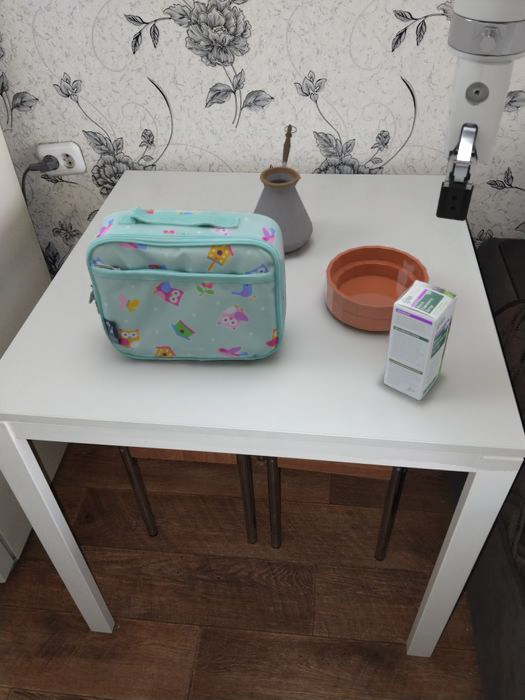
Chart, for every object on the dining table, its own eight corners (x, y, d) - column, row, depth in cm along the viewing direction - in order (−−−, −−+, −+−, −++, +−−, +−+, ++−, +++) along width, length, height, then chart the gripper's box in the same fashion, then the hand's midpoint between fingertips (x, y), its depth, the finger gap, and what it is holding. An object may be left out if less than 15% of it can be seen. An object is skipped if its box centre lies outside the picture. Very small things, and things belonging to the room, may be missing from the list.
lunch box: (99, 365, 85) (58, 240, 70) (116, 318, 92) (82, 195, 77) (285, 368, 83) (283, 240, 68) (287, 320, 90) (286, 195, 76)
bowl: (428, 282, 96) (434, 254, 92) (415, 343, 86) (421, 315, 82) (337, 266, 100) (339, 239, 96) (314, 324, 90) (315, 296, 86)
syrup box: (420, 402, 78) (439, 320, 68) (380, 383, 80) (393, 301, 70) (439, 376, 81) (460, 294, 71) (400, 359, 84) (415, 277, 74)
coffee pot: (309, 262, 101) (311, 182, 90) (243, 258, 103) (237, 179, 92) (320, 198, 116) (322, 123, 106) (262, 195, 118) (259, 121, 107)
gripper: (530, 67, 49) (484, 242, 61) (533, 8, 60) (493, 165, 72) (438, 60, 51) (410, 231, 63) (458, 5, 62) (431, 158, 74)
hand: (455, 195), depth 67 cm, fingers open, 9 cm apart
